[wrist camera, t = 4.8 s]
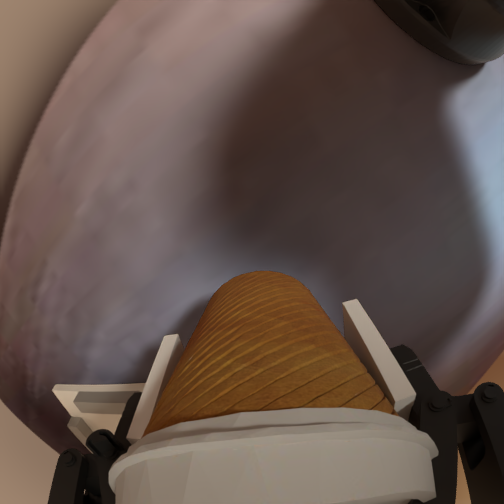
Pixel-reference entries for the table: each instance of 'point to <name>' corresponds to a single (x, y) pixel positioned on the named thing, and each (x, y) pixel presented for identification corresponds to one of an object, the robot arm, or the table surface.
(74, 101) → the table surface
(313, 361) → the disposable coffee cup
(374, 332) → the robot arm
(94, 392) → the seat plate
